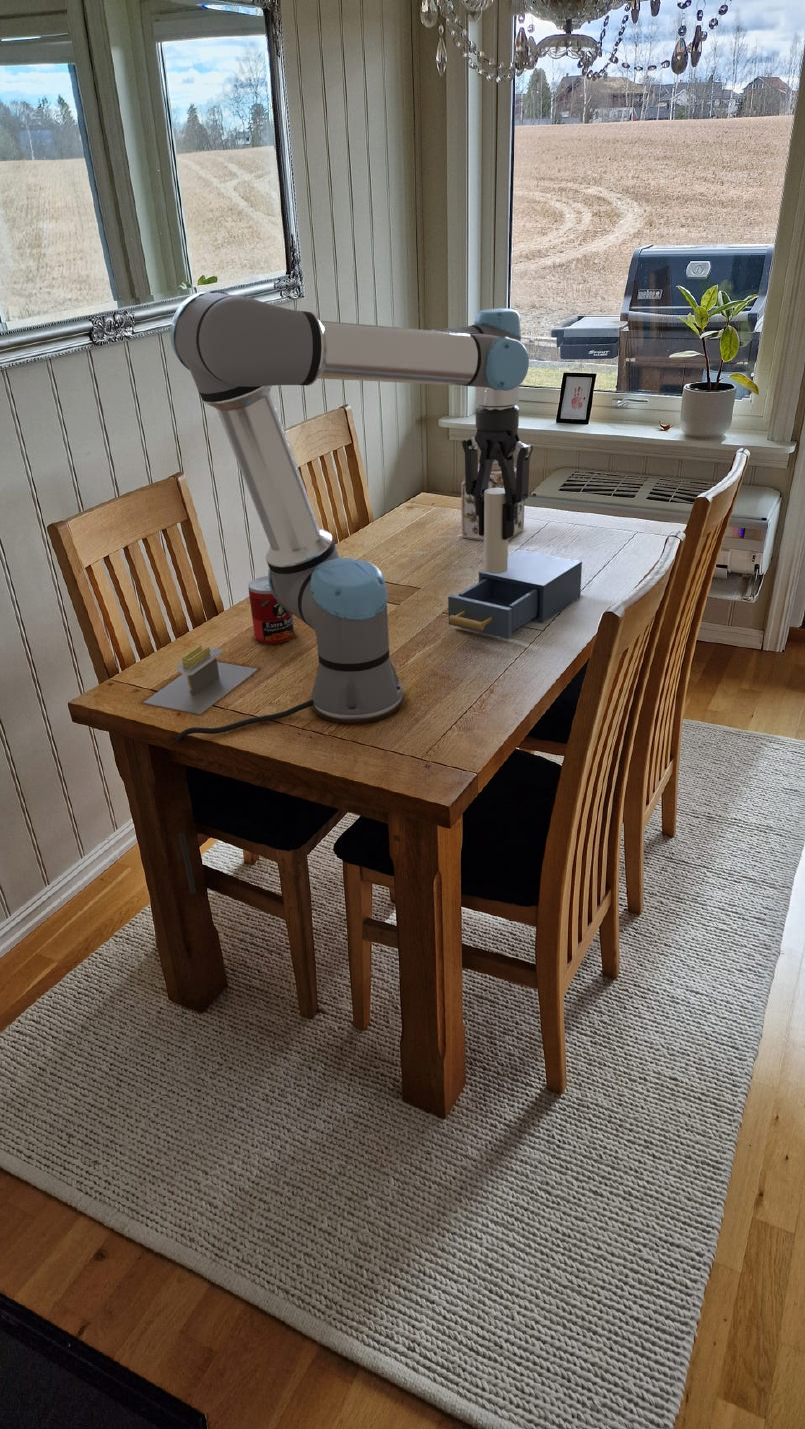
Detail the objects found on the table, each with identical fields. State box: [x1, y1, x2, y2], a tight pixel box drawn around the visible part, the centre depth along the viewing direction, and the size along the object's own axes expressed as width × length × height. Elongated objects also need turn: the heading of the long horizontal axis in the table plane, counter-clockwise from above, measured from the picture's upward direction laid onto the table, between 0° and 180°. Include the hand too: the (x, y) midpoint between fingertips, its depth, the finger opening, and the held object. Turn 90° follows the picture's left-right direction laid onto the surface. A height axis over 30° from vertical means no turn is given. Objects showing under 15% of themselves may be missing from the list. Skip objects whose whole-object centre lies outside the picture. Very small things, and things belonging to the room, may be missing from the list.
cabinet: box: [478, 549, 583, 623], centre depth 194 cm, size 16×15×8 cm
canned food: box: [248, 575, 295, 645], centre depth 184 cm, size 8×8×11 cm
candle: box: [483, 488, 509, 573], centre depth 178 cm, size 4×4×15 cm
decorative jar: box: [460, 460, 525, 542], centre depth 230 cm, size 12×12×18 cm
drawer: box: [447, 578, 540, 640], centre depth 184 cm, size 19×13×6 cm
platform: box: [142, 644, 259, 715], centre depth 168 cm, size 12×18×7 cm, turn 156°
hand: (496, 535), depth 179 cm, fingers closed on candle, 4 cm apart
